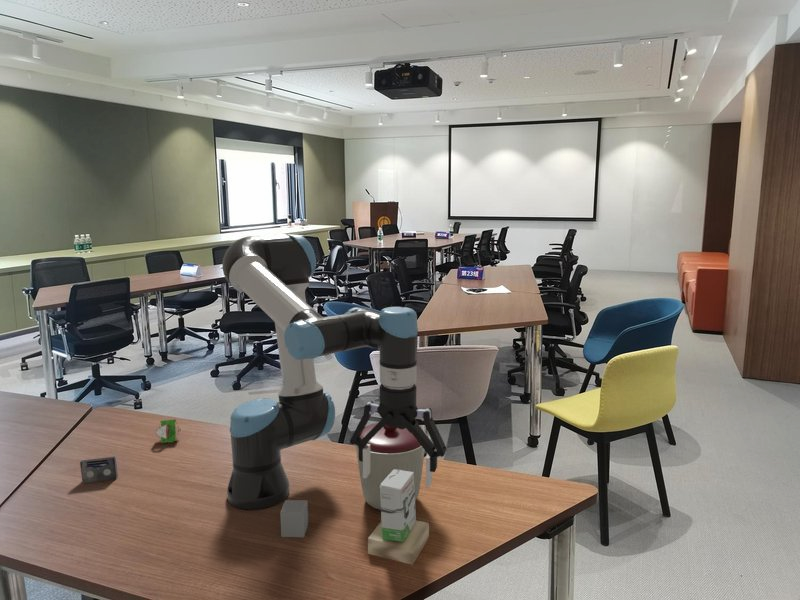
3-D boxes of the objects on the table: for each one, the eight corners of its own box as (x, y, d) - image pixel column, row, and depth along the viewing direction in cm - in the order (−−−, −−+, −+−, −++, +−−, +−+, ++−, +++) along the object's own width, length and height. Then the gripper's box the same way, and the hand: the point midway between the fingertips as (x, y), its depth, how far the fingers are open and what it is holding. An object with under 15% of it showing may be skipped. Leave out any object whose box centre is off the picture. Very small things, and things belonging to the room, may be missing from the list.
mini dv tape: (117, 476, 153) (115, 455, 151) (116, 479, 151) (114, 458, 150) (84, 480, 150) (81, 459, 149) (82, 483, 149) (80, 462, 148)
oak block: (368, 555, 119) (367, 538, 118) (387, 530, 128) (386, 513, 127) (412, 566, 115) (412, 549, 115) (428, 539, 124) (428, 523, 124)
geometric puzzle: (159, 428, 178) (155, 415, 173) (182, 426, 180) (179, 413, 174) (157, 449, 174) (153, 436, 168) (181, 446, 175) (177, 433, 170)
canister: (338, 503, 139) (336, 421, 135) (387, 475, 152) (386, 400, 148) (395, 530, 127) (394, 441, 123) (442, 497, 141) (443, 417, 137)
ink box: (403, 543, 116) (400, 489, 114) (381, 539, 118) (378, 486, 116) (417, 521, 124) (414, 470, 122) (395, 518, 126) (393, 468, 124)
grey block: (281, 537, 125) (280, 512, 124) (286, 524, 130) (285, 500, 129) (304, 537, 125) (303, 512, 124) (308, 524, 130) (307, 500, 129)
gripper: (333, 383, 115) (335, 479, 119) (455, 396, 108) (452, 498, 112) (347, 372, 122) (348, 463, 126) (462, 384, 115) (459, 480, 119)
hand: (397, 480), depth 119 cm, fingers open, 13 cm apart
